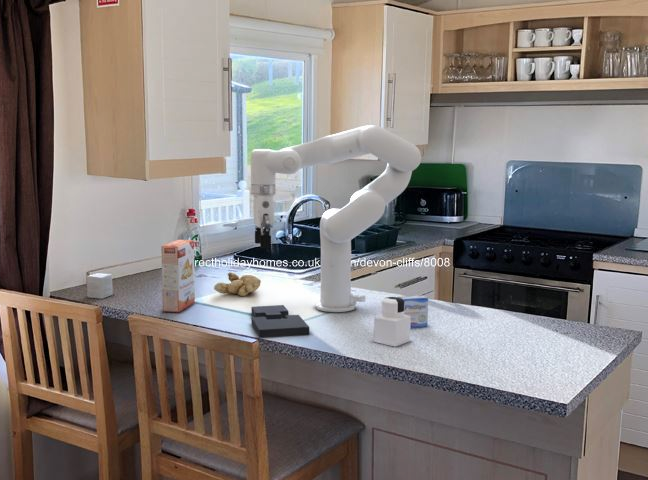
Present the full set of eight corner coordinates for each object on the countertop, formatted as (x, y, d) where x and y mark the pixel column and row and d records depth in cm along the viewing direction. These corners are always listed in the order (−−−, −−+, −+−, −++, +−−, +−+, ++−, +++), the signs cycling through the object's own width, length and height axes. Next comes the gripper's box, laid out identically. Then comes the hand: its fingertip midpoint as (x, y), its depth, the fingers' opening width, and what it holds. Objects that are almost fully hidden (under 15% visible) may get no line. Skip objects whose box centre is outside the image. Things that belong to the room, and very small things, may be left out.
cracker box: (180, 313, 234) (178, 246, 231) (161, 312, 236) (159, 245, 232) (196, 302, 248) (194, 239, 244) (179, 302, 249) (177, 238, 245)
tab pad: (283, 311, 237) (283, 304, 236) (290, 320, 226) (290, 313, 225) (251, 313, 234) (251, 306, 234) (257, 322, 224) (257, 315, 223)
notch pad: (298, 321, 225) (298, 314, 224) (309, 334, 211) (309, 326, 211) (251, 324, 221) (251, 317, 221) (259, 337, 208) (259, 329, 208)
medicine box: (402, 328, 217) (402, 299, 216) (396, 324, 222) (397, 295, 220) (427, 327, 219) (428, 297, 218) (421, 323, 224) (422, 294, 222)
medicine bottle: (388, 336, 209) (389, 294, 207) (410, 341, 205) (411, 297, 203) (373, 342, 204) (374, 298, 202) (395, 347, 200) (396, 302, 197)
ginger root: (271, 285, 268) (268, 264, 265) (257, 306, 254) (254, 284, 251) (229, 284, 272) (226, 264, 269) (213, 304, 258) (210, 283, 255)
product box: (98, 293, 261) (97, 272, 259) (113, 295, 259) (112, 274, 257) (87, 297, 255) (86, 276, 254) (102, 299, 253) (101, 277, 252)
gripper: (280, 192, 225) (280, 250, 228) (269, 187, 241) (269, 241, 244) (255, 192, 223) (255, 250, 226) (246, 187, 239) (246, 241, 242)
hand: (262, 245), depth 235 cm, fingers open, 9 cm apart
